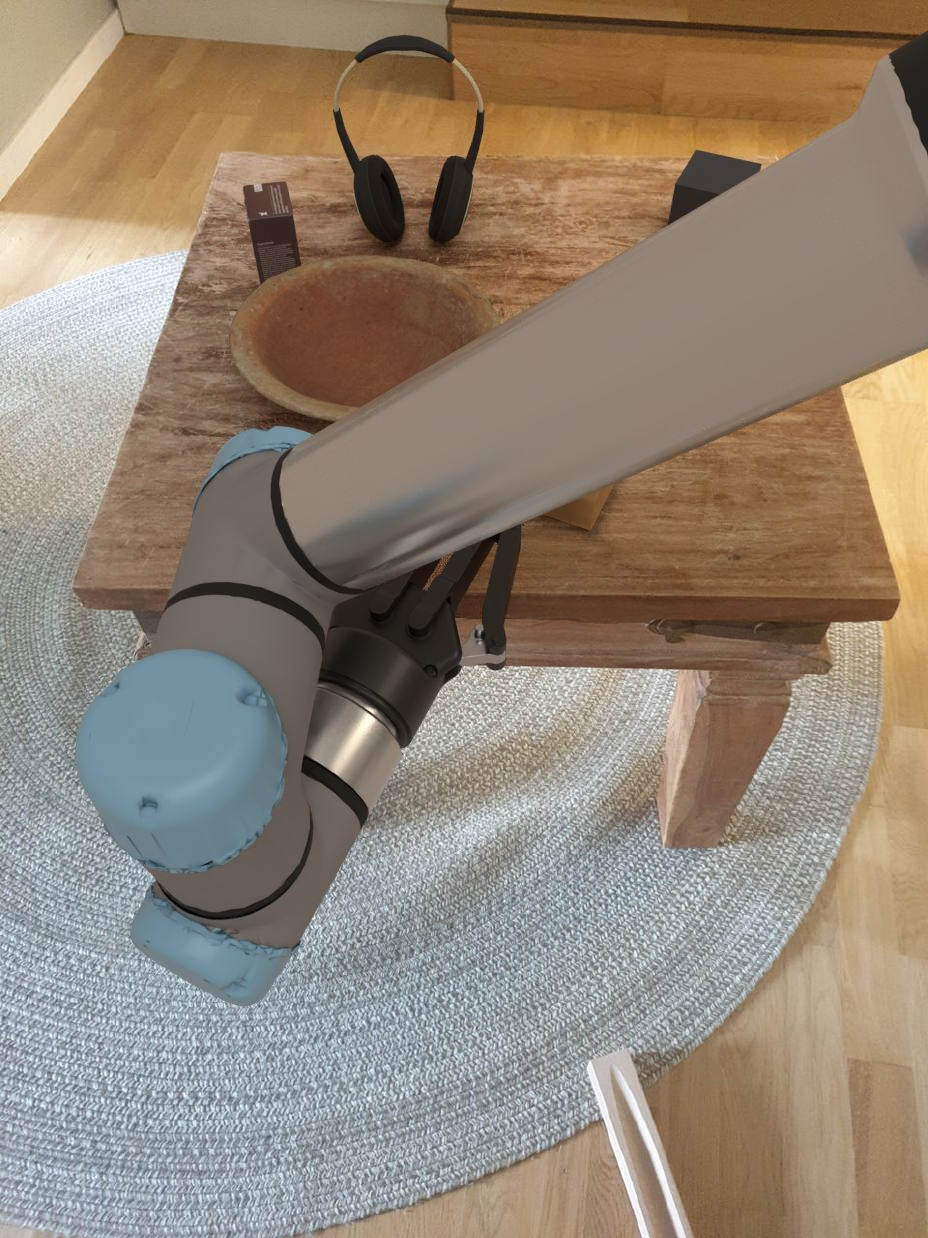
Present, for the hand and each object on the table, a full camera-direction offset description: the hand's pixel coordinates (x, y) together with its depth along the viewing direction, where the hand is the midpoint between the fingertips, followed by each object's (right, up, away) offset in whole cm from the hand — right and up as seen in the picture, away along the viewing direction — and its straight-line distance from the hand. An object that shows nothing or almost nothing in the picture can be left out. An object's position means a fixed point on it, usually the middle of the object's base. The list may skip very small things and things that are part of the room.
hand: (516, 443), depth 64 cm
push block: (+5, 0, +16) cm, 17 cm away
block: (+22, +29, +36) cm, 51 cm away
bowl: (-12, +9, +23) cm, 28 cm away
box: (-21, +19, +30) cm, 42 cm away
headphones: (-9, +30, +37) cm, 48 cm away
